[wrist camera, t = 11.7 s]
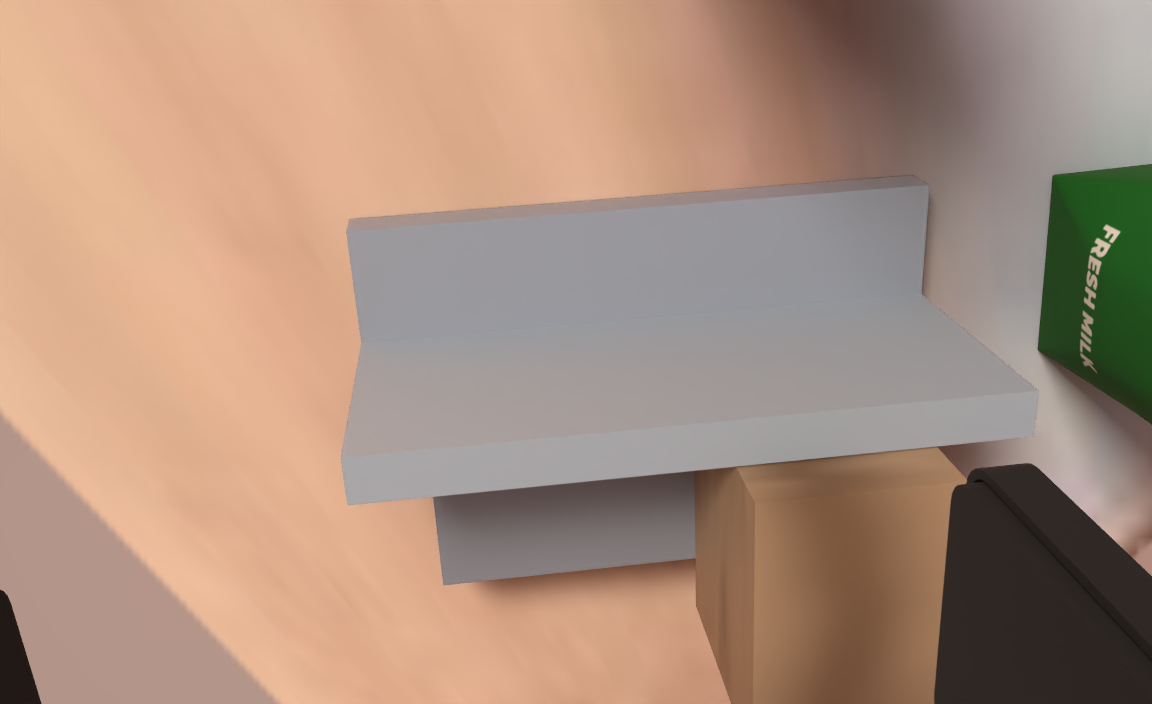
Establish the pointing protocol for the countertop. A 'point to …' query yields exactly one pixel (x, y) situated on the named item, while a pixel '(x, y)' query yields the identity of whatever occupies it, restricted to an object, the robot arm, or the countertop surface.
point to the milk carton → (1101, 282)
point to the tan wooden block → (825, 576)
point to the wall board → (646, 362)
